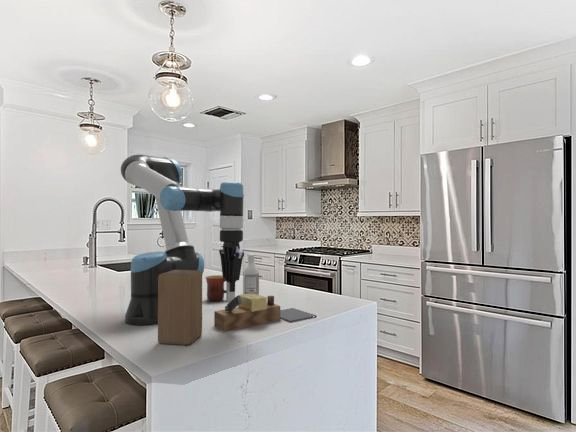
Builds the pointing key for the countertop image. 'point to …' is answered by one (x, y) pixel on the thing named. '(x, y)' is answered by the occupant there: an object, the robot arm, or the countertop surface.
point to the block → (179, 306)
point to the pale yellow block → (253, 302)
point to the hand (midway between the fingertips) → (230, 301)
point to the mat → (294, 315)
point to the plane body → (246, 316)
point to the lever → (233, 303)
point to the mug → (215, 288)
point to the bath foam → (251, 276)
